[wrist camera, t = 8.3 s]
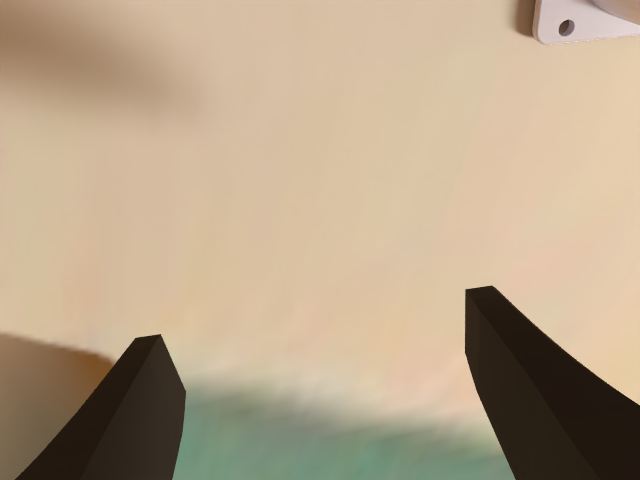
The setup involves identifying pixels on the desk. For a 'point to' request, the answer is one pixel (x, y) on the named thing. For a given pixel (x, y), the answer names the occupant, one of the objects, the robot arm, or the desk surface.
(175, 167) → the desk surface
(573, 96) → the desk surface
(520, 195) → the desk surface
